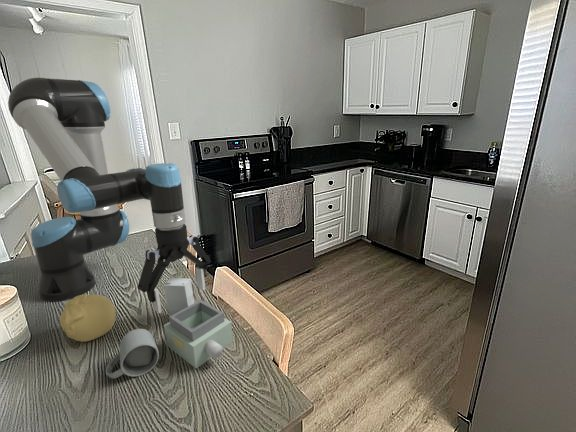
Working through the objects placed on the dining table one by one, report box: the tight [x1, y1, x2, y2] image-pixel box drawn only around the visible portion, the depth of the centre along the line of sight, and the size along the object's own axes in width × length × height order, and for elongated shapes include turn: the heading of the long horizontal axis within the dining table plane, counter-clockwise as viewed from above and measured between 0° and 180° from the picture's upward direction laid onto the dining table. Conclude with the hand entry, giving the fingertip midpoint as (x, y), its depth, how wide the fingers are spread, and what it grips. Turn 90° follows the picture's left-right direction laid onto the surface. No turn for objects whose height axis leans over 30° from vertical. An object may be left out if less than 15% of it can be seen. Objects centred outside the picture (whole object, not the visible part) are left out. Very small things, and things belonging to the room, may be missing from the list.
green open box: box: [163, 299, 234, 369], centre depth 75 cm, size 15×11×8 cm
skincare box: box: [163, 277, 195, 318], centre depth 84 cm, size 6×4×12 cm
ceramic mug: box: [105, 328, 160, 380], centre depth 69 cm, size 11×8×8 cm
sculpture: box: [59, 293, 117, 343], centre depth 79 cm, size 11×12×11 cm
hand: (180, 299), depth 84 cm, fingers open, 13 cm apart
